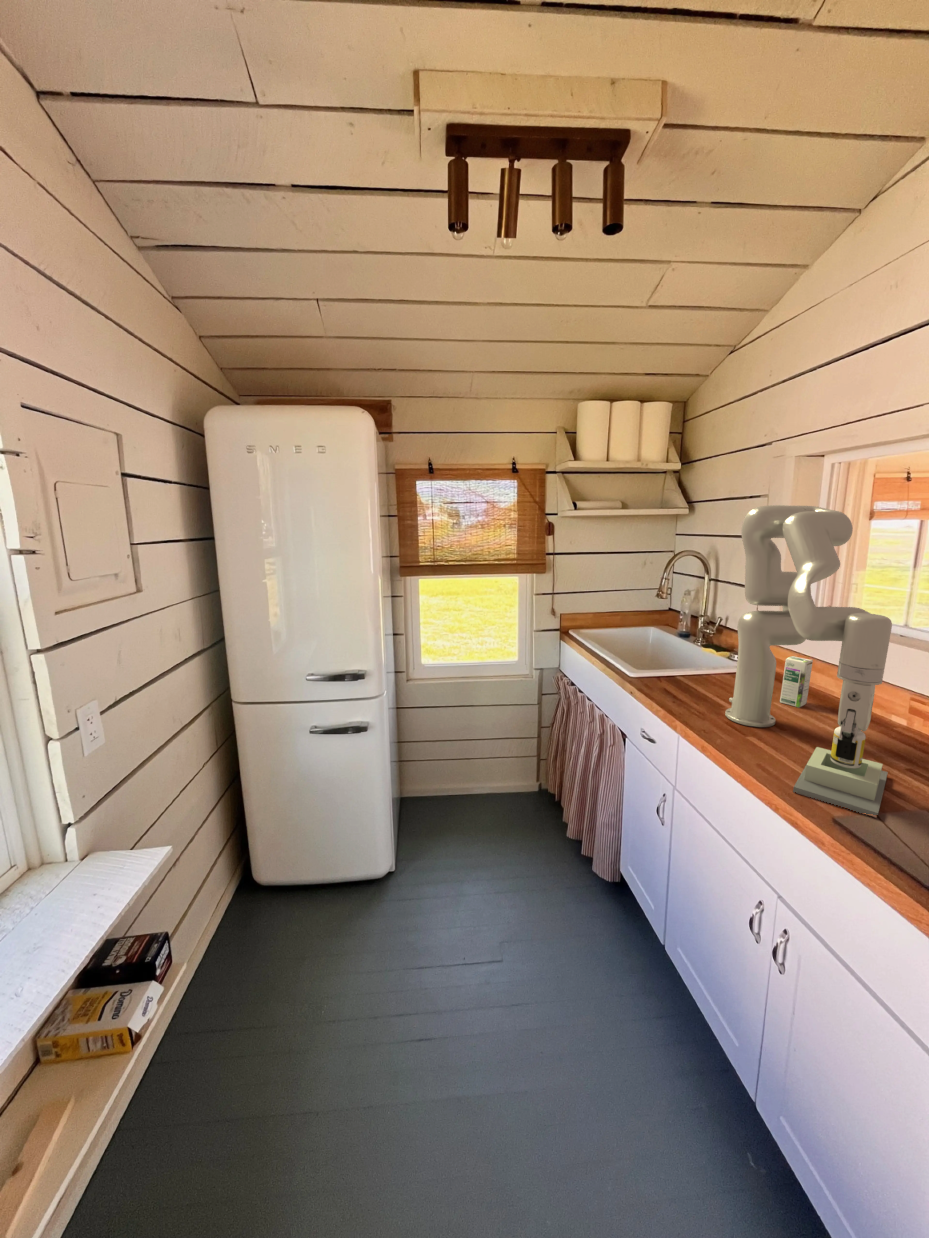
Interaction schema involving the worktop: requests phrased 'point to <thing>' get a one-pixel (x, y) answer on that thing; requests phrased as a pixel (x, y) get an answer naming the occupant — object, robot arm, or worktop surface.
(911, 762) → the worktop surface
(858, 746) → the supplement bottle
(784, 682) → the syrup box
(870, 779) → the socket board
